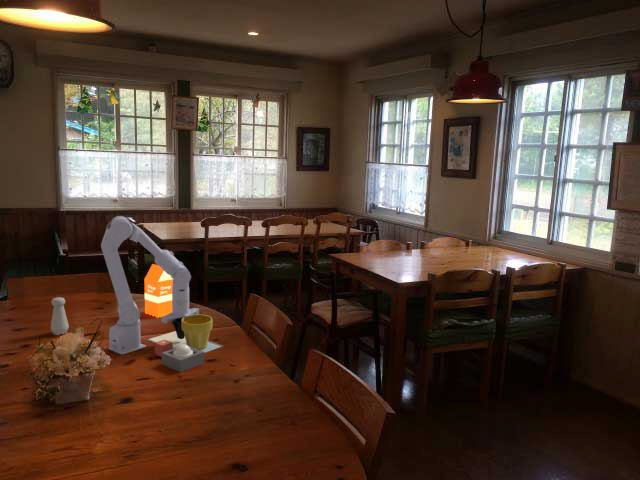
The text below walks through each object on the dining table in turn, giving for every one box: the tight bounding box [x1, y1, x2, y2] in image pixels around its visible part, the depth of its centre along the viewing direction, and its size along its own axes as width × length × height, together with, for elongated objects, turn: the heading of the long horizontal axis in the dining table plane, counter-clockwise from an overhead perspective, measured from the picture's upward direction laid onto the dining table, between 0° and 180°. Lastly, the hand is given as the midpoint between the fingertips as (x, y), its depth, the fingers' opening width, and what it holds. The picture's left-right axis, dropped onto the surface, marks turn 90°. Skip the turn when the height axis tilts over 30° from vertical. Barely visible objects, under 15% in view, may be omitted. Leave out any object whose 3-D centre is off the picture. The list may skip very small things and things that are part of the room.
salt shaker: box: [50, 296, 70, 336], centre depth 189 cm, size 6×6×13 cm
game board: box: [146, 330, 224, 354], centre depth 185 cm, size 14×24×1 cm, turn 53°
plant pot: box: [181, 313, 214, 350], centre depth 181 cm, size 10×10×10 cm
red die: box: [154, 340, 173, 358], centre depth 174 cm, size 4×4×4 cm
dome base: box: [161, 346, 205, 373], centre depth 167 cm, size 9×9×4 cm
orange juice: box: [143, 263, 173, 319], centre depth 215 cm, size 8×9×20 cm
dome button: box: [173, 344, 193, 358], centre depth 167 cm, size 6×6×5 cm
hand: (180, 338), depth 186 cm, fingers closed
